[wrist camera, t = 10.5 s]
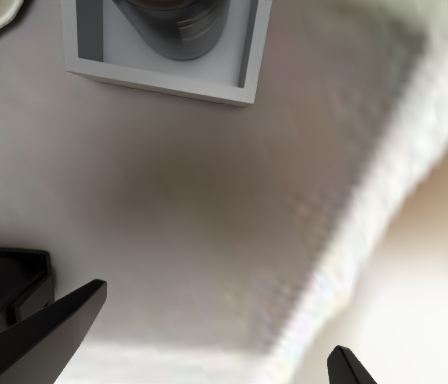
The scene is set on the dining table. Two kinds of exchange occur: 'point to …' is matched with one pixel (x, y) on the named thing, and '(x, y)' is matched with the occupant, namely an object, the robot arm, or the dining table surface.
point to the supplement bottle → (177, 24)
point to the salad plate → (8, 10)
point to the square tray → (161, 65)
